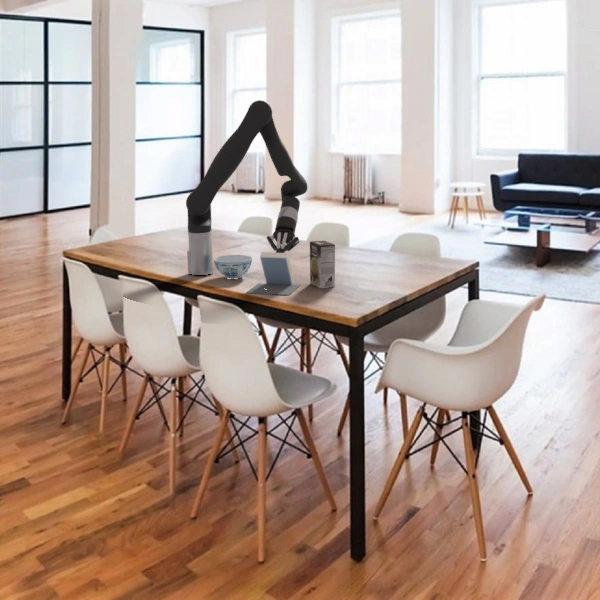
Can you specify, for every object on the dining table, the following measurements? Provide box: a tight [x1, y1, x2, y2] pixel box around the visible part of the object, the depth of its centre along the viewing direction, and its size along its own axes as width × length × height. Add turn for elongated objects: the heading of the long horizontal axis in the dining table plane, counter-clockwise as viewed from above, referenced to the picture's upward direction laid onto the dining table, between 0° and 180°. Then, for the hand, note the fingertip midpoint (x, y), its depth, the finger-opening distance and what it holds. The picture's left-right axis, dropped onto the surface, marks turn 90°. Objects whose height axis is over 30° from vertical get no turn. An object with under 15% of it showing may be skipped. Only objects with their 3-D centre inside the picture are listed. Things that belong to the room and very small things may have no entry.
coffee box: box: [309, 240, 336, 289], centre depth 267 cm, size 9×6×16 cm
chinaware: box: [213, 254, 253, 279], centre depth 283 cm, size 15×15×8 cm
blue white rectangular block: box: [259, 251, 295, 285], centre depth 267 cm, size 10×3×14 cm
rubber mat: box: [245, 283, 300, 296], centre depth 263 cm, size 16×15×1 cm
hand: (278, 258), depth 269 cm, fingers closed
